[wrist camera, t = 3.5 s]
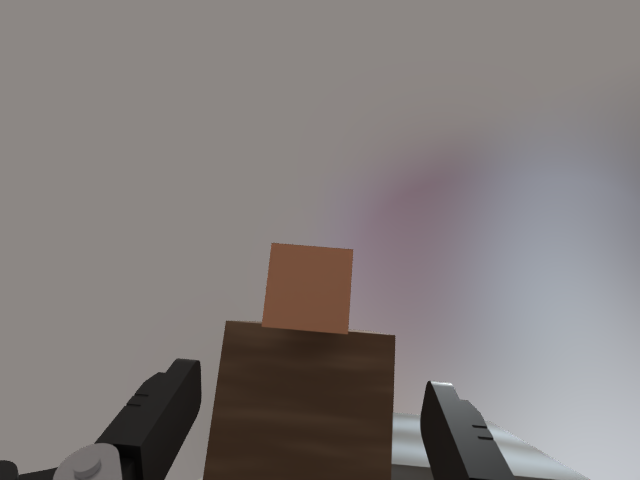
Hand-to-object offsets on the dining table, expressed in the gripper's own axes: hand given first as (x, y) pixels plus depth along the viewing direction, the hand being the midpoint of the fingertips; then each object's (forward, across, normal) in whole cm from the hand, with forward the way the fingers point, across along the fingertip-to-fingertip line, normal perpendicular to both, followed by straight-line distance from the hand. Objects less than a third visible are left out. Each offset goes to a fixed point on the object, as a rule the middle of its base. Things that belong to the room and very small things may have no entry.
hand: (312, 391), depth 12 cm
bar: (+14, -1, -6) cm, 15 cm away
